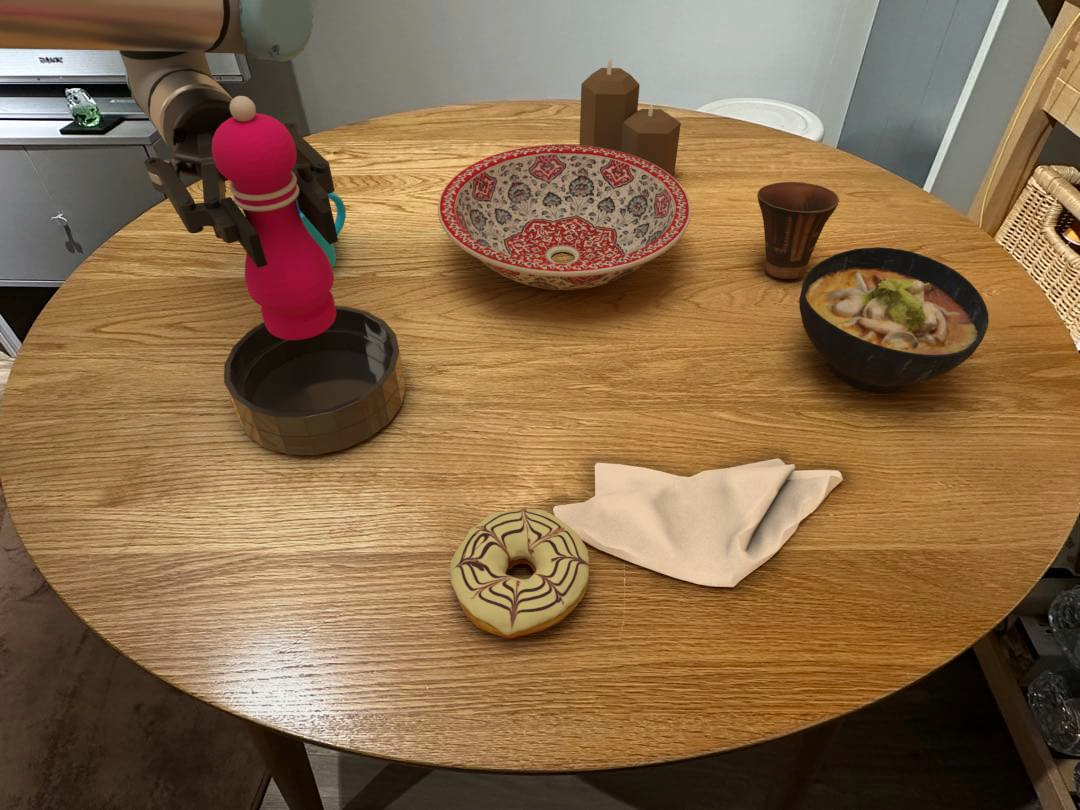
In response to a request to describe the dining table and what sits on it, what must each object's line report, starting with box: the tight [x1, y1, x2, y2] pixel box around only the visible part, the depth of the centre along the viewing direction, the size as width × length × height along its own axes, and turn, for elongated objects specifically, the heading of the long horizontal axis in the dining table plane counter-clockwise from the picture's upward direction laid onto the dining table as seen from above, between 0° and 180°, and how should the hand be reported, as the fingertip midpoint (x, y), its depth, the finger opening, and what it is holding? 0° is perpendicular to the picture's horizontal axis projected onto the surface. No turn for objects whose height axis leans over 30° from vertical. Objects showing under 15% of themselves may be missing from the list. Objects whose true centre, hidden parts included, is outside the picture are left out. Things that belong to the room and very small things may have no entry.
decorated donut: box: [449, 507, 590, 639], centre depth 60 cm, size 10×11×4 cm
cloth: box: [552, 457, 844, 588], centre depth 65 cm, size 26×14×2 cm, turn 91°
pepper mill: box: [212, 95, 337, 340], centre depth 62 cm, size 7×7×20 cm
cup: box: [756, 181, 840, 280], centre depth 90 cm, size 9×9×10 cm
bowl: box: [798, 246, 990, 393], centre depth 77 cm, size 17×17×10 cm
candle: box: [578, 57, 682, 178], centre depth 105 cm, size 14×14×15 cm
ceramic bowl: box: [437, 144, 692, 291], centre depth 92 cm, size 29×29×8 cm
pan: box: [223, 305, 407, 456], centre depth 75 cm, size 16×16×6 cm
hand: (294, 239), depth 58 cm, fingers closed on pepper mill, 5 cm apart
